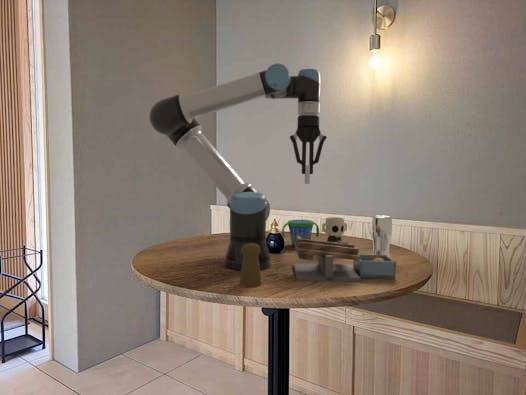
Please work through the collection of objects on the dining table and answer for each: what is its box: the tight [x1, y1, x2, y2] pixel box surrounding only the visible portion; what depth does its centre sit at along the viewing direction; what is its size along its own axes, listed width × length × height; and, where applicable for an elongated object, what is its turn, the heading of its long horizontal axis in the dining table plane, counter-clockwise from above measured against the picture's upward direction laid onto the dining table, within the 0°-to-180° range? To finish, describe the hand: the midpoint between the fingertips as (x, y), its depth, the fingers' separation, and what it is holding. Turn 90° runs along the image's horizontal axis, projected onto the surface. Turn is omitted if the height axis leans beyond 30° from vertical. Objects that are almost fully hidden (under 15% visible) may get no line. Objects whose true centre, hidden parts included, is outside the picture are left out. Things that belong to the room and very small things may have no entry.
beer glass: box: [371, 215, 393, 258], centre depth 141 cm, size 7×7×15 cm
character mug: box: [321, 216, 348, 242], centre depth 151 cm, size 11×7×13 cm, turn 111°
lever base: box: [293, 255, 362, 282], centre depth 119 cm, size 18×16×7 cm
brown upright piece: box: [239, 243, 262, 287], centre depth 108 cm, size 6×6×11 cm
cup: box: [352, 253, 397, 280], centre depth 119 cm, size 10×9×5 cm
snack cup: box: [281, 219, 320, 247], centre depth 163 cm, size 16×10×10 cm
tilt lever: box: [294, 236, 360, 261], centre depth 123 cm, size 18×20×6 cm
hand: (307, 183), depth 139 cm, fingers closed
